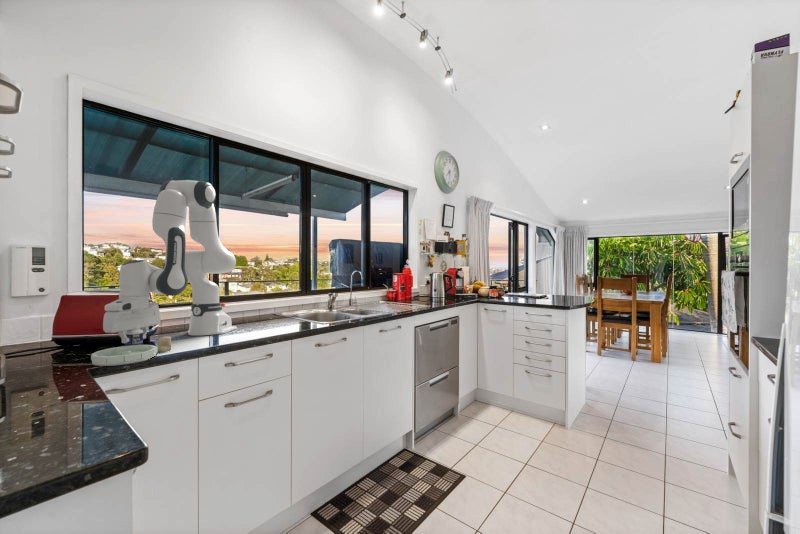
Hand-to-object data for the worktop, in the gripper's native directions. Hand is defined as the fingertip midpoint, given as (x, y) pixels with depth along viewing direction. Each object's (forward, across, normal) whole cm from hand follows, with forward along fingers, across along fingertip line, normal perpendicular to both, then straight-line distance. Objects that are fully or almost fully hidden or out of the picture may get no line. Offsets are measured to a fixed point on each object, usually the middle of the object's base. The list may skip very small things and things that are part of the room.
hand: (134, 340), depth 128 cm
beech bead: (+4, -1, +12) cm, 13 cm away
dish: (+4, +10, +8) cm, 14 cm away
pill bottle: (+4, 0, 0) cm, 4 cm away
